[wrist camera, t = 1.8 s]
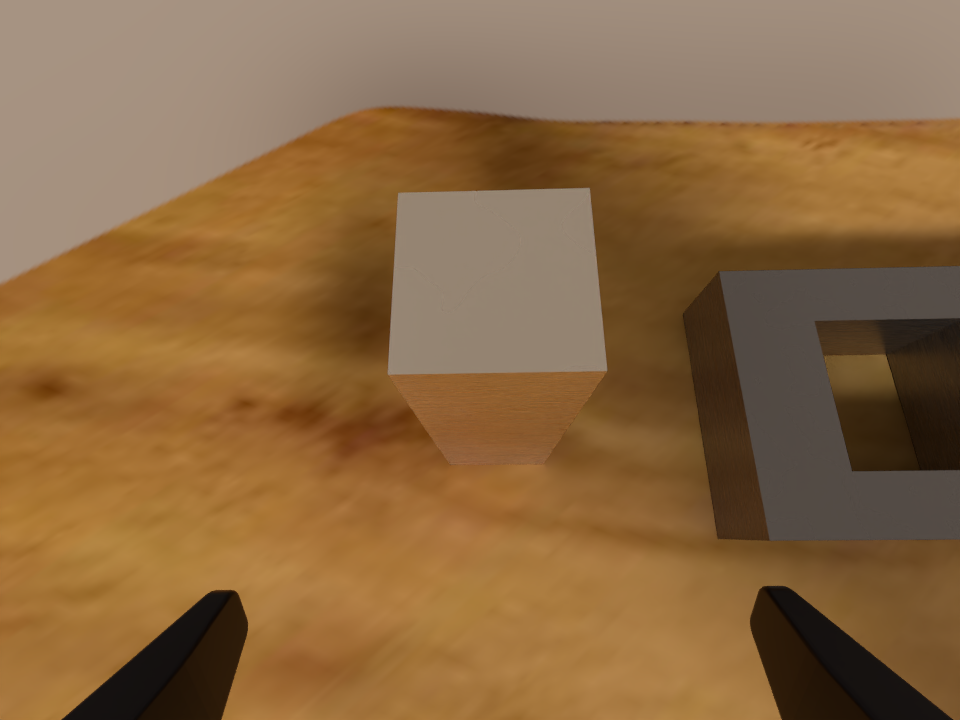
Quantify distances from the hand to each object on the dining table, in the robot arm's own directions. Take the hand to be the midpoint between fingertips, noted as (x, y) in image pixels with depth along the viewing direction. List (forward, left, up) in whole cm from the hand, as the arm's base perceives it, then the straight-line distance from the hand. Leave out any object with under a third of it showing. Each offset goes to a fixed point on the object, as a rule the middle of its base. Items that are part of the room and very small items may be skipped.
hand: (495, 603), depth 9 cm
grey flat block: (-9, -18, -12) cm, 23 cm away
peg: (+4, -4, -12) cm, 13 cm away
